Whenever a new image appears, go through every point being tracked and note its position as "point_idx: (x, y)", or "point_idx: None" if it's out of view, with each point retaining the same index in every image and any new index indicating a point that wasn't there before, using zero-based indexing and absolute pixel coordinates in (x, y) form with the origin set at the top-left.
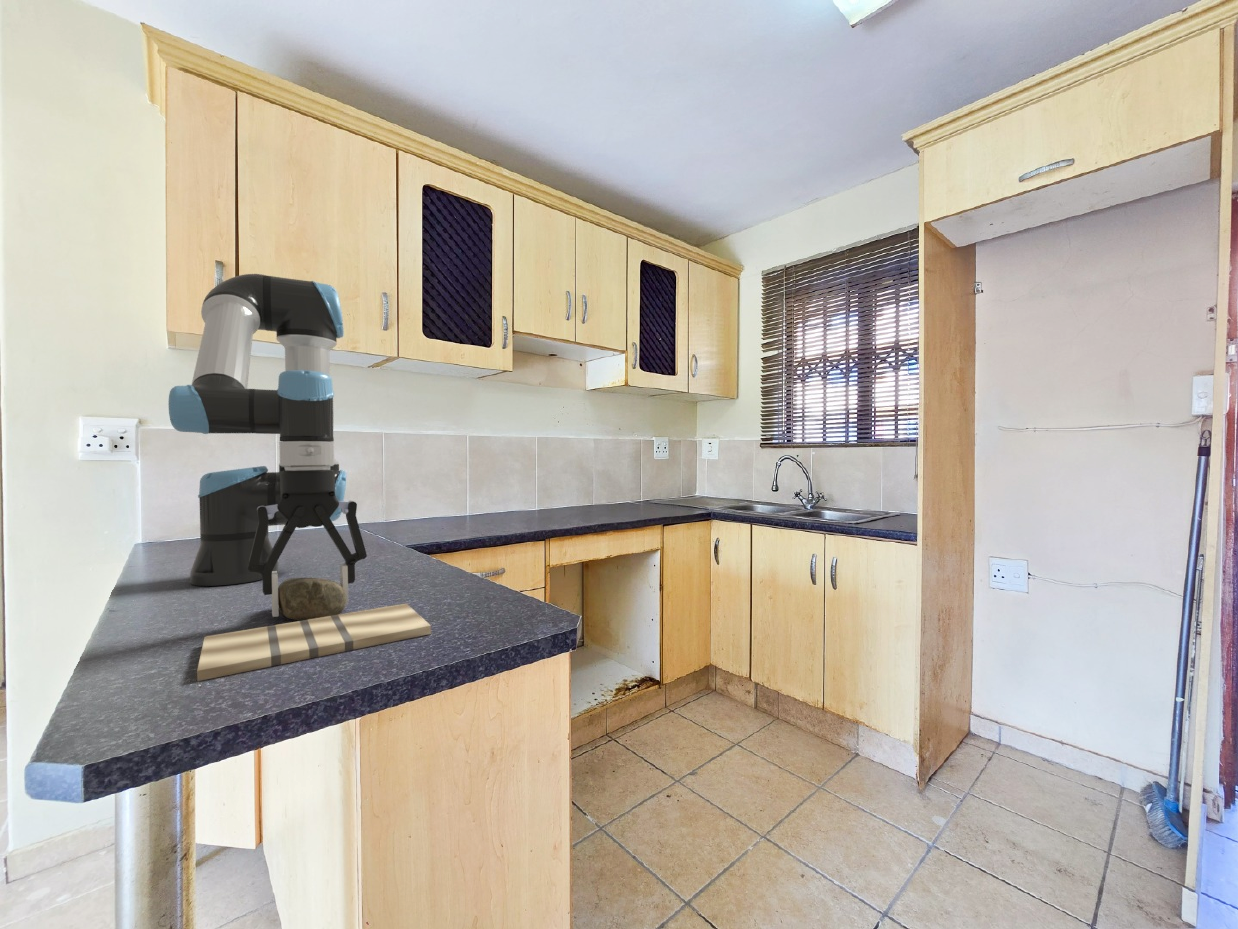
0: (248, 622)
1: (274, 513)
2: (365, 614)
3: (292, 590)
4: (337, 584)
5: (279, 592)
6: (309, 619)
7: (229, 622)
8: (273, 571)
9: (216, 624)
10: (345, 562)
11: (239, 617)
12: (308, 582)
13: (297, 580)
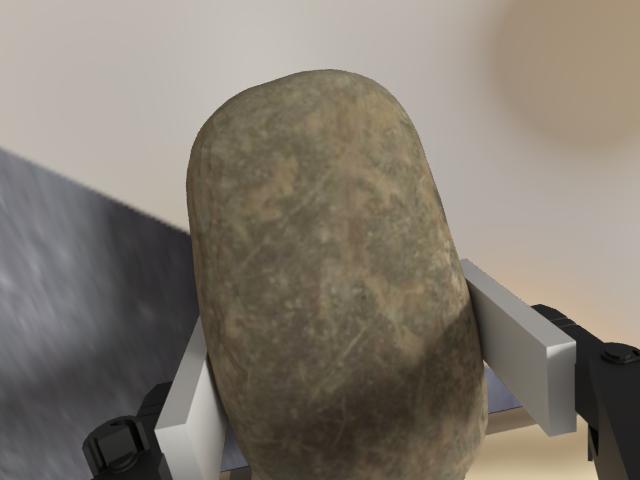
0: (126, 306)
1: None
2: (511, 474)
3: None
4: (476, 452)
5: (230, 423)
6: None
7: (49, 275)
8: (169, 434)
9: (7, 283)
10: (581, 377)
11: (62, 214)
12: None
13: None
